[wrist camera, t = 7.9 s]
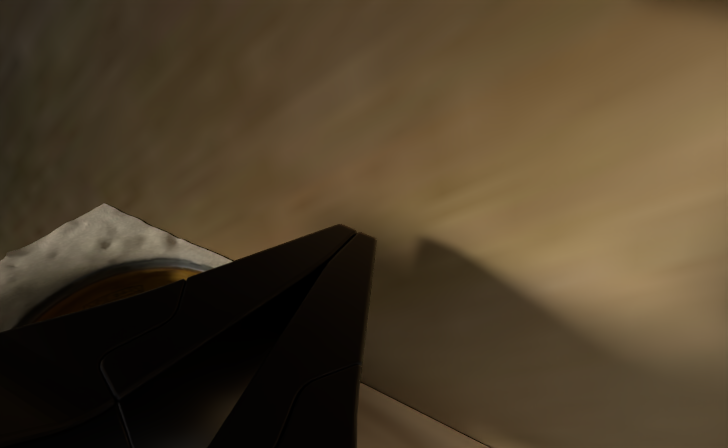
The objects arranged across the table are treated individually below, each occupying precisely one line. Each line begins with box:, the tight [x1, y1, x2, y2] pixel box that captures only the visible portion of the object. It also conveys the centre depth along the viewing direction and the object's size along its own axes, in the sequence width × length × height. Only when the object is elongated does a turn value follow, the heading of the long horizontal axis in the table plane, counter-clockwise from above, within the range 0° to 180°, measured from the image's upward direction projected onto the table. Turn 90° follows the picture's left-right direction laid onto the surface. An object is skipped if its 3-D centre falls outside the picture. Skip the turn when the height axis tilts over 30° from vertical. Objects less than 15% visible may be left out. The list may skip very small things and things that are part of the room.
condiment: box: [0, 203, 233, 332], centre depth 14 cm, size 7×8×12 cm
